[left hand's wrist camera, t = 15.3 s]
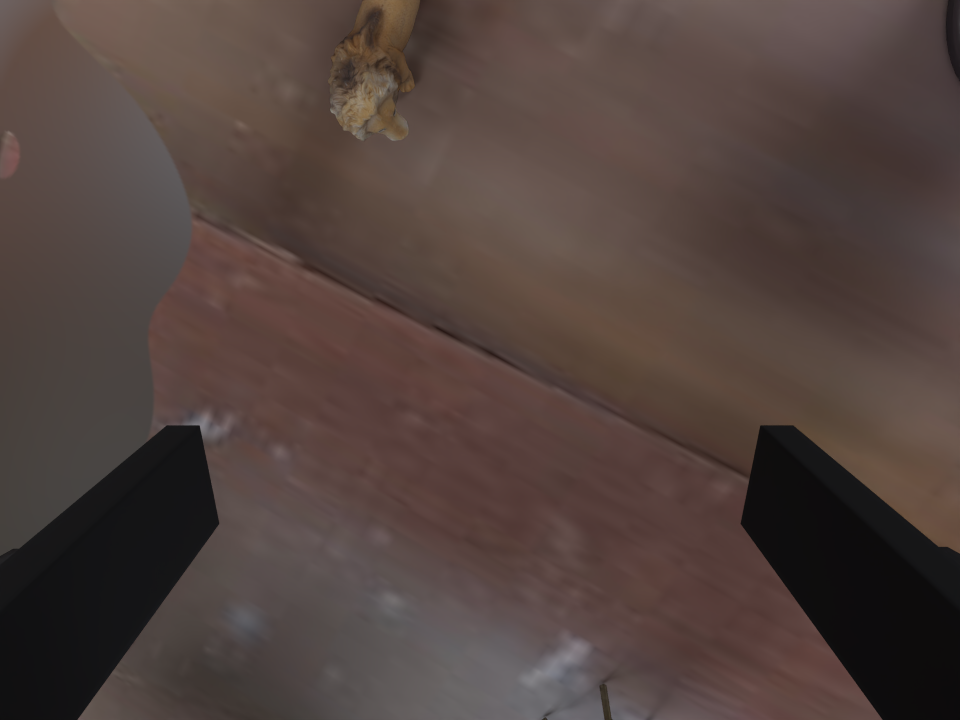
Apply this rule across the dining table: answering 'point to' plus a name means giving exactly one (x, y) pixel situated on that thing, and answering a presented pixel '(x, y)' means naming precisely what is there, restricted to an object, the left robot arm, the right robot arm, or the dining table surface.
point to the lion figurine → (373, 70)
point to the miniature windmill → (603, 702)
